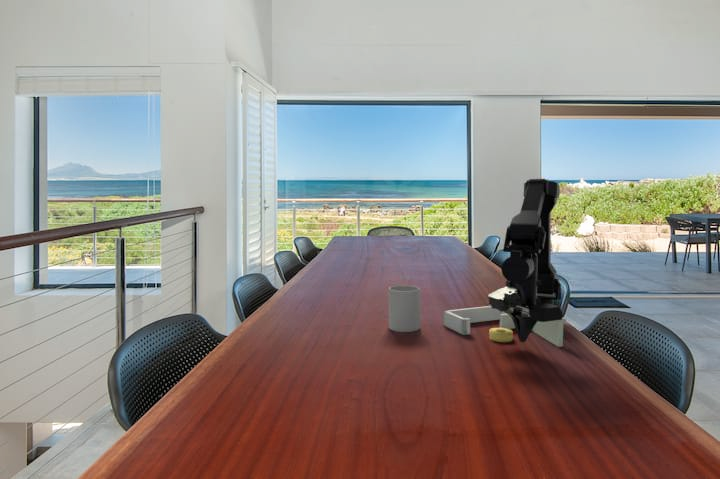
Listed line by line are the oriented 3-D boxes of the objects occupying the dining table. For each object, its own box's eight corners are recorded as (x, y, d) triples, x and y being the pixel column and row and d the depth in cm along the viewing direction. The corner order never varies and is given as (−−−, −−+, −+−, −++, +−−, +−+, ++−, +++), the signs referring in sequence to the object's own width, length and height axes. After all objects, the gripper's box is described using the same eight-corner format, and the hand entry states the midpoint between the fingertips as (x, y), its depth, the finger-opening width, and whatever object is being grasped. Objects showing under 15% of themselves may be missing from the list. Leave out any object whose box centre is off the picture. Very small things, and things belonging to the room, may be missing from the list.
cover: (528, 328, 124) (529, 304, 123) (535, 328, 124) (535, 304, 123) (557, 346, 109) (558, 319, 108) (565, 346, 109) (565, 319, 108)
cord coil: (502, 334, 119) (502, 326, 119) (517, 340, 114) (517, 332, 114) (484, 336, 117) (484, 328, 117) (498, 343, 112) (498, 334, 112)
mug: (415, 333, 120) (415, 292, 119) (384, 330, 123) (384, 290, 122) (426, 322, 131) (426, 284, 130) (397, 319, 134) (397, 282, 133)
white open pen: (504, 317, 135) (504, 295, 135) (532, 328, 124) (532, 304, 124) (443, 325, 128) (443, 302, 127) (467, 336, 117) (467, 311, 116)
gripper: (471, 272, 112) (470, 334, 114) (523, 285, 95) (521, 359, 96) (508, 269, 116) (507, 329, 118) (565, 281, 99) (563, 352, 100)
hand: (522, 341), depth 108 cm, fingers closed
